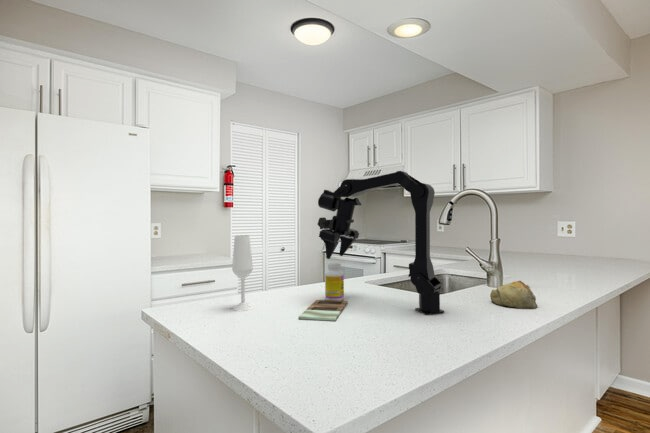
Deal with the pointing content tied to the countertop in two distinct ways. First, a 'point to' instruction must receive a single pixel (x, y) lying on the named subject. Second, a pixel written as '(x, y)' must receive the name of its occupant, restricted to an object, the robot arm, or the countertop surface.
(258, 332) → the countertop surface
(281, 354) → the countertop surface
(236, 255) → the champagne flute
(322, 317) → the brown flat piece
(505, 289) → the pastry
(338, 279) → the supplement bottle
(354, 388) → the countertop surface
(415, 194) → the robot arm
